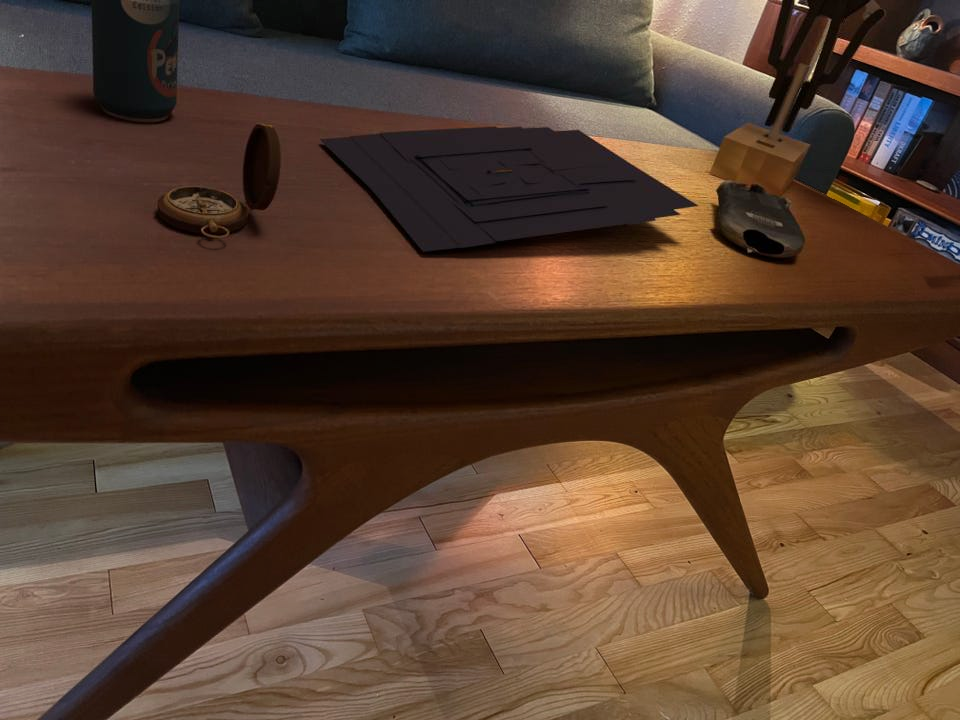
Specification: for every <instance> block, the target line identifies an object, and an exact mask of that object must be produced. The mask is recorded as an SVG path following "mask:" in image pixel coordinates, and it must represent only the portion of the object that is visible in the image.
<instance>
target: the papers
mask: <svg viewBox="0 0 960 720" xmlns="http://www.w3.org/2000/svg"><path fill="white" fill-rule="evenodd" d="M318 140H319V141H320V142H321V143H322V144H323V145H325V146H326V148H327V149H328V150H329V151H331V152H332V154H334V155H335V156H336V157H337V158H338V159H339V160H340V161H341V162H342V163H343V164H344V165H345V166H347V168H349V169H350V171H351V172H353V173H354V174H355V175H356V176H357V177H358V178H359V179H360V180H361V181H362V182H363V183H364V184H365V185H366V186H367V187H369V189H370V190H371V191H372V192H373V193H374V195H375V196H376V197H377V198H378V200H379V201H380V202H381V203H382V204H383V205H384V207H385V208H386V209H387V210H388V212H390V214H391V215H392V216H393V217H394V219H395V220H396V221H397V222H398V223H399V225H400V226H401V227H402V228H403V229H404V231H405V232H406V233H407V234H408V236H409V237H410V238H411V239H412V240H413V242H414V243H415V244H416V246H418V248H420V250H421V251H422V252H423V253H424V252H425V253H426V252H433V251H441V250H451V249H460V248H461V249H463V248H470V247H477V246H483V245H489V244H497V243H501V242H504V241H509V240H510V241H511V240H516V239H523V238H532V237H538V236H547V235H553V234H562V233H569V232H576V231H584V230H590V229H591V230H592V229H598V228H606V227H614V226H630V225H631V226H632V225H635V224H636V225H637V224H643V223H649V222H656V221H657V219H662V218H669V217H674V216H682V214H681V213H680V212H678V211H677V210H682V209H688V208H696V207H699V204H697V203H695V202H693V201H692V200H691V199H690V198H687V197H686V196H684V195H683V194H681V193H679V192H677V191H676V190H674V189H672V188H671V187H669V186H668V185H666V184H664V183H663V182H662V181H659V180H658V179H656V178H655V177H653V176H652V175H650V174H648V173H647V172H646V171H644V170H642V169H640V168H638V167H637V166H635V165H634V164H633V163H631V162H629V161H628V160H626V159H625V158H623V157H621V156H620V155H618V154H617V153H615V152H614V151H612V150H611V149H609V148H607V147H606V146H604V145H603V144H601V143H600V142H598V141H597V140H595V139H594V138H592V137H590V136H589V135H587V134H586V133H584V132H583V131H581V130H579V129H572V130H571V129H569V130H568V129H567V130H554V129H552V128H551V127H548V126H546V127H545V126H544V127H543V126H542V127H541V126H540V127H522V126H505V127H497V126H477V127H459V128H458V127H457V128H441V129H440V128H439V129H423V130H405V131H384V132H379V133H370V134H359V135H349V136H345V137H331V138H319V139H318Z"/></svg>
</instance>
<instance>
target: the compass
mask: <svg viewBox="0 0 960 720" xmlns="http://www.w3.org/2000/svg"><path fill="white" fill-rule="evenodd" d="M245 145H246V146H245V150H244V156H243V163H242V191H243V197H244V200H245V201H244V203H242V202H240V201H239V200H238V199H236V197H234V196H233V195H232V194H230V193H228V192H226V191H223V190H220V189H217V188H212V187H209V186H200V185H190V186H189V185H188V186H180V187H176V188H173V189H171V190H169V192H167V193H165V194H163V195H161V196H159V198H158V199H157V203H156V206H155V209H154V210H155V212H156V213H157V215H158V216H159V217H160V218H161V219H162V220H163V221H164V222H166V223H167V224H169V225H170V226H172V227H174V228H177V229H179V230H181V231H186V232H190V233H194V234H195V233H196V234H202V235H204V236H206V237H207V238H212V239H224V238H227V237H228V236H229V235H230V232H235V231H237V230H238V229H240V228H242V227H244V225H245V224H246V222H247V220H248V217H249V216H248V215H249V213H251V212H252V211H255V210H257V211H265V210H266V209H268V208H269V206H271V204H272V202H273V200H274V198H275V195H276V193H277V190H278V185H279V182H280V174H281V168H282V167H281V166H282V152H281V143H280V138H279V135H278V133H277V131H276V128H275V127H274V126H273V125H272V124H269V123H268V124H267V123H263V122H262V123H261V122H256V124H255V125H254V127H253V128H252V129H251V132H250V134H249V136H248V139H247V142H246V144H245ZM218 234H219V235H218ZM220 234H224V235H220Z"/></svg>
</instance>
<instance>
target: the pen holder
mask: <svg viewBox="0 0 960 720" xmlns="http://www.w3.org/2000/svg"><path fill="white" fill-rule="evenodd" d="M770 131H771V129H768V128H767V129H766V128H765V127H762V126H759V125H756V124H753V123H750V122H747V123H745V124H743V125H742V126H740V127H738V128H737V129H735V130H733V131H732V132H730V133H728V134H727V135H725V136H724V137H723V139H722V141H721V144H720V146H719V149H718V152H717V154H716V157H715V159H714V162H713V163H712V165H711V168H710V171H709V174H710V175H713V176H715V177H717V178H720V179H723V180H724V181H726V180H730V181H732V182H735V183H745V184H748V185H747V186H745V188H750V187H751V184H758V185H760V186H762V187H763V188H765V189H766V192H767V193H769V194H773V195H776V196H780V197H781V195H782V194H783V193H784V192H785V191H786V190H787V188H788V187H789V186H790V185H791V183H793V182H794V180H795V179H796V176H797V175H798V172H799V171H800V168H801V167H802V164H803V161H804V160H805V157H806V156H807V153H808V151H809V149H810V147H811V144H810V143H807V142H804V141H801V140H798V139H795V138H793V137H790V136H787V135H784V134H782V133H781V134H780V136H779V138H778V141H775V140H773V139H770V138H767V137H768V135H769V133H770Z"/></svg>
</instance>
